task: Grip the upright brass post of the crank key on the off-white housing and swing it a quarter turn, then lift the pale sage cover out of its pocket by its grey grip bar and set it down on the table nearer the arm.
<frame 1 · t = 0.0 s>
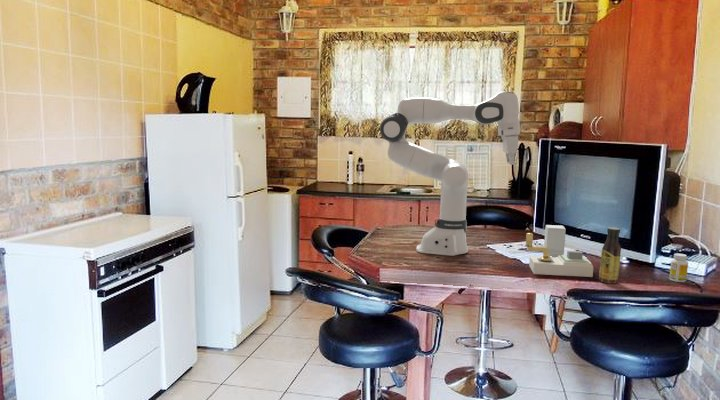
hand: (510, 163, 230), 39 cm above the table, tool pointing down, fingers open, 8 cm apart
sauce bottle: (608, 282, 196), on the table
housing: (559, 271, 209), on the table
supplement bottle: (677, 280, 199), on the table
sage cover: (574, 261, 208), point 4 cm above the table, touching housing
supplement box: (553, 256, 233), on the table
brass crank key: (538, 246, 209), point 9 cm above the table, hinge at 0.0°
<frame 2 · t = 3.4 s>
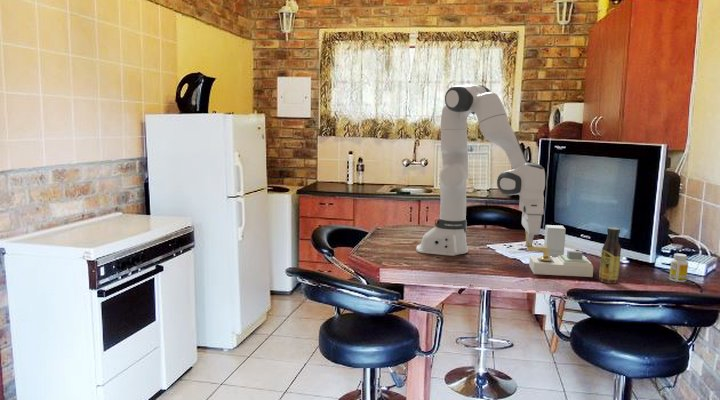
hand: (529, 241, 209), 11 cm above the table, tool pointing down, fingers closed on brass crank key, 2 cm apart
brass crank key: (538, 246, 209), point 9 cm above the table, hinge at 0.0°, touching gripper
everything else where it was.
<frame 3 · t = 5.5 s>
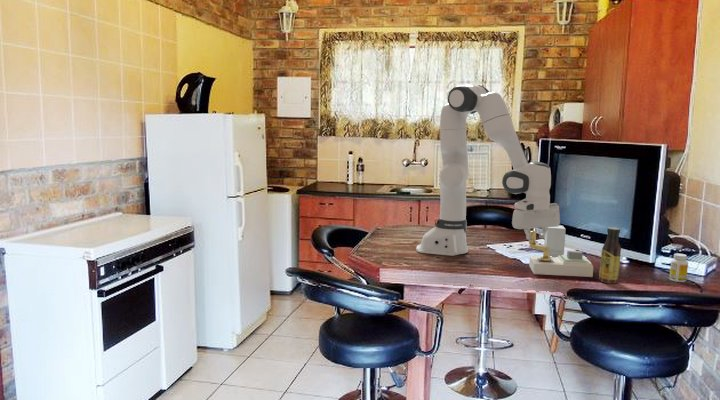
hand: (535, 238, 213), 11 cm above the table, tool pointing down, fingers open, 5 cm apart
brass crank key: (540, 245, 211), point 9 cm above the table, hinge at -46.5°, touching gripper
everything else where it was.
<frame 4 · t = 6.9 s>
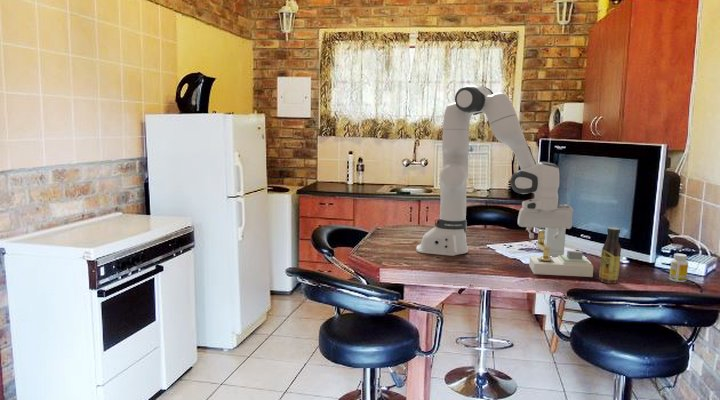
hand: (543, 238, 214), 11 cm above the table, tool pointing down, fingers open, 8 cm apart
brass crank key: (543, 245, 211), point 9 cm above the table, hinge at -81.3°
everything else where it was.
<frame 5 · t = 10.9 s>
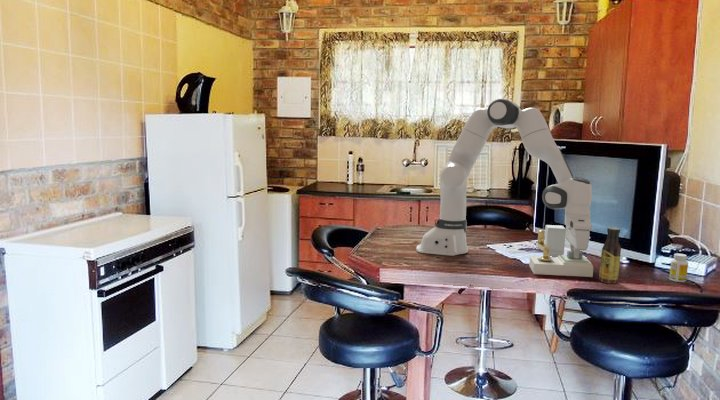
hand: (574, 256, 207), 6 cm above the table, tool pointing down, fingers closed on sage cover, 2 cm apart
sage cover: (574, 261, 208), point 4 cm above the table, touching gripper, housing
everything else where it was.
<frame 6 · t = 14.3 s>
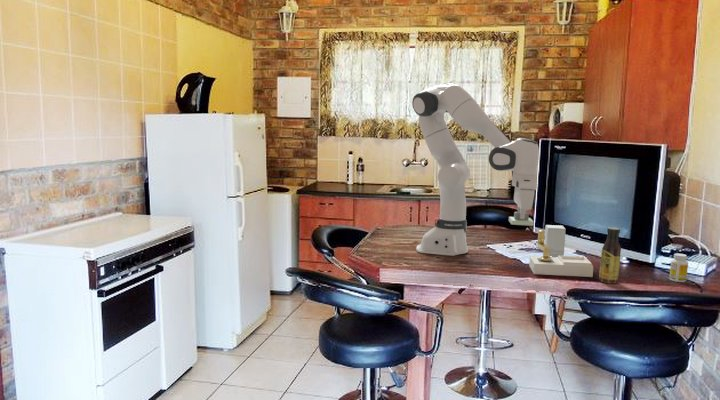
hand: (521, 217, 208), 20 cm above the table, tool pointing down, fingers closed on sage cover, 2 cm apart
sage cover: (520, 223, 208), point 18 cm above the table, touching gripper
everything else where it was.
when the fingers open (5 cm above the table, at t = 18.0 s): sage cover drops 3 cm, on the table.
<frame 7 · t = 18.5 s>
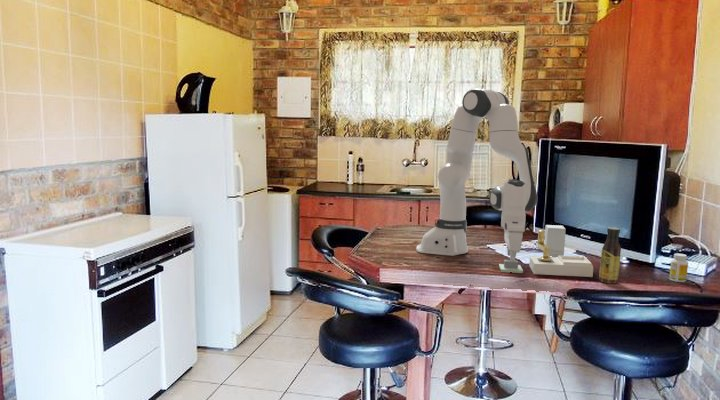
hand: (511, 258, 210), 5 cm above the table, tool pointing down, fingers open, 7 cm apart
sage cover: (510, 270, 211), on the table
everything else where it was.
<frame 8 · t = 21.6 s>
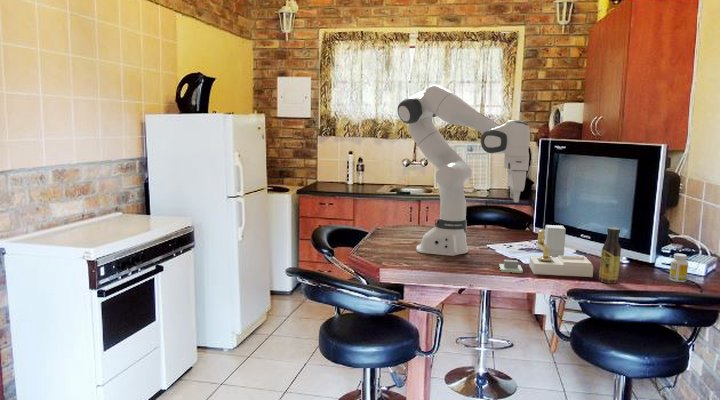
hand: (514, 200, 206), 27 cm above the table, tool pointing down, fingers open, 8 cm apart
nothing on the table moved.
at the end: brass crank key at -81° (first picture: +0°); sage cover inside the target area (0.1 cm from its centre), on the table; sage cover tilted 0° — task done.
